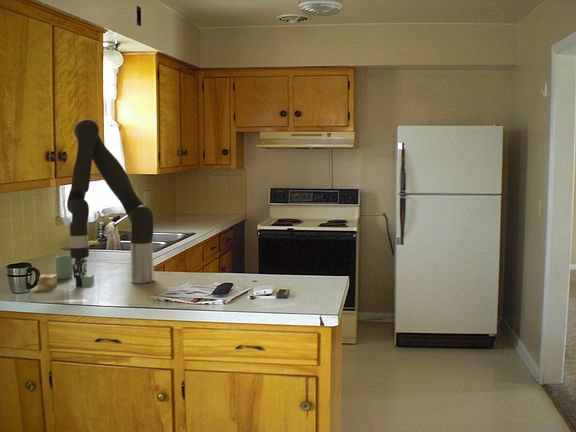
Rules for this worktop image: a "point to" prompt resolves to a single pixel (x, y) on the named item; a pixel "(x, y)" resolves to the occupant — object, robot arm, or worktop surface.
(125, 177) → the robot arm
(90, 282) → the teal block
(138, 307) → the worktop surface
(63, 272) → the cup
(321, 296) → the worktop surface
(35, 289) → the pale flat slab
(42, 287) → the oak block
